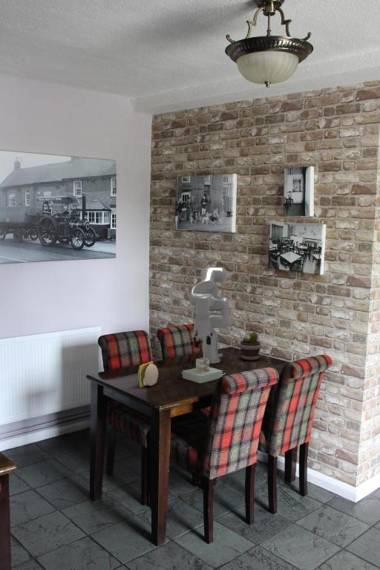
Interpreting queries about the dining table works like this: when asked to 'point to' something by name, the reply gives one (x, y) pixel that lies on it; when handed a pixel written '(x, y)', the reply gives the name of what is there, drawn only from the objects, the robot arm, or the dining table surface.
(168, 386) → the dining table surface
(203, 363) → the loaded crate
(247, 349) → the flowerpot
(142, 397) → the dining table surface
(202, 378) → the dock
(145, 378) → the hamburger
